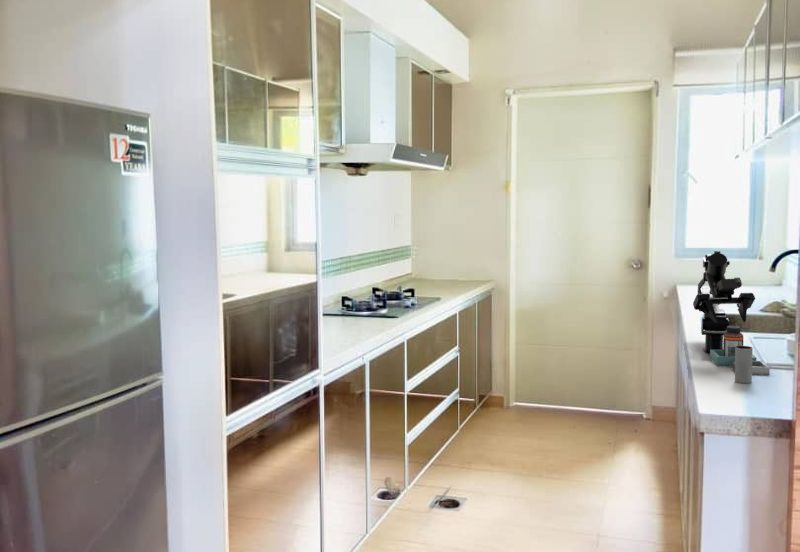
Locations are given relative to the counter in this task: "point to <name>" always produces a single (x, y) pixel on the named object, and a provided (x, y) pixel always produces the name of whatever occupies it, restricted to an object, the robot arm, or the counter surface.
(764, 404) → the counter surface
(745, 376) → the grey hollow cylinder
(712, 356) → the bin
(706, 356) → the counter surface
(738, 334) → the supplement bottle
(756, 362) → the collar
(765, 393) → the counter surface
